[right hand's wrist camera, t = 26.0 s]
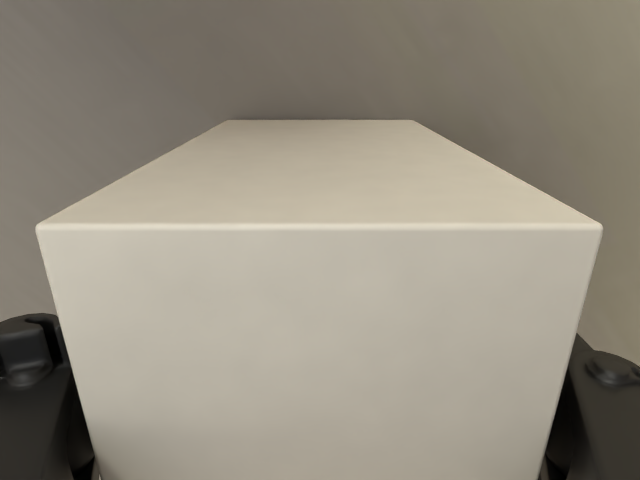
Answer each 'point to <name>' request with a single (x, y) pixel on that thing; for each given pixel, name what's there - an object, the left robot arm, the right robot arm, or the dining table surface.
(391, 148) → the block
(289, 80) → the dining table surface
